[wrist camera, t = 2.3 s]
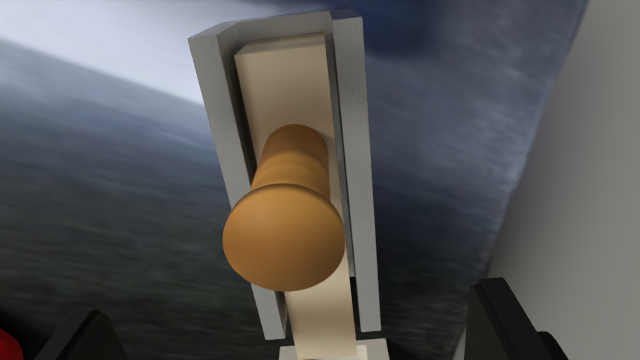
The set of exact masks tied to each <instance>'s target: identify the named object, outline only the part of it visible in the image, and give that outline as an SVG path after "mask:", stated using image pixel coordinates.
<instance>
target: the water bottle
mask: <svg viewBox="0 0 640 360" xmlns="http://www.w3.org/2000/svg"><path fill="white" fill-rule="evenodd" d="M0 360H24V358H23V353H22V349H21V347H20V345H19V343H18V341H17V340H16V339H15V338H14V337H12V336H11V335H10V334H8V333H7V332H5V331H4V330H2V329H1V328H0Z"/></svg>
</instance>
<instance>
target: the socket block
mask: <svg viewBox="0 0 640 360" xmlns="http://www.w3.org/2000/svg"><path fill="white" fill-rule="evenodd" d="M356 347H357V355H353V356H341V357H328V358H316V359H303V360H389V355H388V350H387V344H386V339H385V338H383V339H371V340H358V341H356ZM279 360H298V356H297V351H296V347H295V346H285V347H280V357H279Z"/></svg>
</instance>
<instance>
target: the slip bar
mask: <svg viewBox="0 0 640 360" xmlns="http://www.w3.org/2000/svg"><path fill="white" fill-rule="evenodd" d="M234 57H235V62H236V67H237V72H238V76H239V81H240V86H241V90H242V95H243V100H244V105H245V109H246V114H247V119H248V124H249V128H250V133H251V138H252V143H253V147H254V152H255V157H256V162H257V166H258V167H257V170H256V173H255V176H254V180H253V183H252V186H251V189H250V192H249V193H247V194H246V195H245V196H243V197H242V198H241V199H240V200H239V201H238V202H237V203H236V204H235V206H234V207H233V209H232V210H231V213H230V215H229V217H228V220H227V222H226V225H225V228H224V232H223V248H224V252H225V255H226V258H227V259H228V261H229V263H230V265H231V266H232V267H233V269H234V270H235V271H236V272H237V273H238V274H239V275H240V276H242V277H243V278H244V279H246V280H247V281H249V282H250V283H252V284H255V285H257V286H259V287H262V288H265V289H269V290H274V291H283V292H284V294H285V299H286V304H287V309H288V313H289V318H290V323H291V328H292V332H293V337H294V342H295V347H296V351H297V356H298V360H303V359H316V358H328V357H341V356H353V355H357V347H356V337H355V327H354V317H353V308H352V298H351V288H350V279H349V269H348V259H347V250H346V240H345V230H344V221H343V211H342V202H341V192H340V182H339V173H338V163H337V153H336V144H335V134H334V124H333V115H332V105H331V95H330V86H329V76H328V67H327V57H326V47H325V38H324V33H319V34H311V35H303V36H294V37H286V38H278V39H270V40H262V41H254V42H248V43H247V44H246V45H245V46H244V47H243V48H242V49H241V50H240V51H239V52H238V53H237V54H235V55H234Z"/></svg>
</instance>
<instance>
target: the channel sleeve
mask: <svg viewBox="0 0 640 360" xmlns="http://www.w3.org/2000/svg"><path fill="white" fill-rule="evenodd" d="M319 33H324V38H325V47H326V57H327V67H328V76H329V86H330V95H331V105H332V115H333V124H334V134H335V144H336V153H337V163H338V173H339V182H340V192H341V202H342V211H343V221H344V230H345V240H346V250H347V259H348V269H349V277H355V282H356V291H357V299H358V307H359V316H360V324H361V332H367V331H379V330H381V324H380V307H379V290H378V273H377V256H376V239H375V223H374V206H373V189H372V172H371V155H370V138H369V122H368V105H367V88H366V71H365V54H364V37H363V20H362V16H361V15H360V14H359V13H358V12H357V11H355V10H354V9H353V8H352V7H344V8H336V9H328V10H320V11H312V12H304V13H296V14H288V15H280V16H272V17H264V18H256V19H248V20H240V21H232V22H224V23H219V24H217V25H215V26H213V27H211V28H209V29H206V30H204V31H202V32H200V33H198V34H196V35H194V36H191V37H189V38H187V39H188V43H189V47H190V50H191V54H192V58H193V62H194V66H195V70H196V73H197V77H198V81H199V85H200V89H201V93H202V97H203V100H204V104H205V108H206V112H207V116H208V120H209V123H210V127H211V131H212V135H213V139H214V143H215V147H216V150H217V154H218V158H219V162H220V166H221V170H222V173H223V177H224V181H225V185H226V189H227V193H228V197H229V200H230V204H231V208H232V209H233V207H234V206H235V204H236V203H237V202H238V201H239V200H240V199H241V198H242V197H243V196H245V195H246V194H247V193H249V192H250V189H251V186H252V183H253V180H254V176H255V173H256V170H257V167H258V166H257V162H256V157H255V152H254V147H253V143H252V138H251V133H250V128H249V124H248V119H247V114H246V109H245V105H244V100H243V95H242V90H241V86H240V81H239V76H238V72H237V67H236V62H235V57H234V55H235V54H237V53H238V52H239V51H240V50H241V49H242V48H243V47H244V46H245V45H246V44H247V43H248V42H254V41H262V40H270V39H278V38H286V37H294V36H303V35H311V34H319ZM251 285H252V289H253V293H254V297H255V300H256V304H257V308H258V312H259V316H260V320H261V324H262V327H263V331H264V335H265V339H266V340H270V339H282V338H285V330H286V319H287V304H286V299H285V294H284V292H283V291H274V290H269V289H265V288H262V287H259V286H257V285H255V284H252V283H251Z"/></svg>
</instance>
